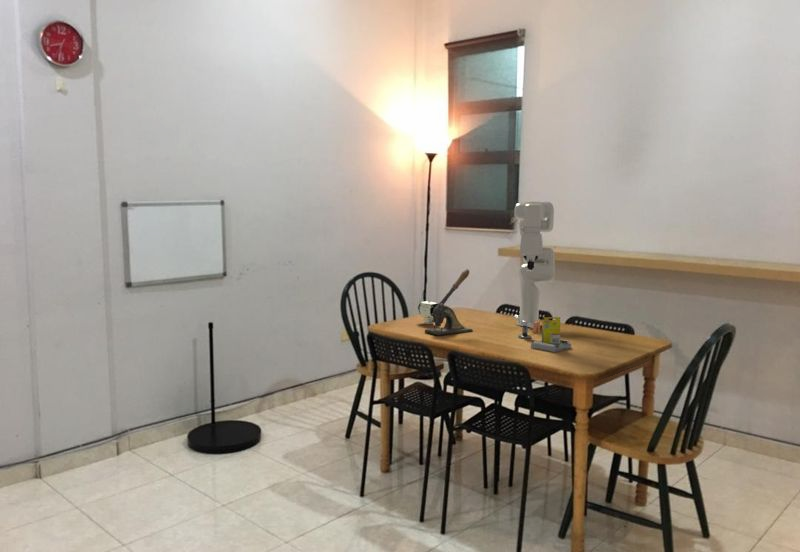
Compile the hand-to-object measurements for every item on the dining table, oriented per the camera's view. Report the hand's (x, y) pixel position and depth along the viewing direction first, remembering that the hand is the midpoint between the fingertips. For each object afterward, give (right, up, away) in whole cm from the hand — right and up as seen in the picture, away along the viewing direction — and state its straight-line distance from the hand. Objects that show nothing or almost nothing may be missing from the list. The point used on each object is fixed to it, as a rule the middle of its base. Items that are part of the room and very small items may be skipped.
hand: (530, 269), depth 307 cm
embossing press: (-37, -30, +9) cm, 49 cm away
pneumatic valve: (-47, -28, +29) cm, 61 cm away
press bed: (+4, -34, -23) cm, 41 cm away
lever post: (-3, -32, -2) cm, 32 cm away
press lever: (-2, -28, -7) cm, 29 cm away
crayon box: (+4, -32, -23) cm, 40 cm away
